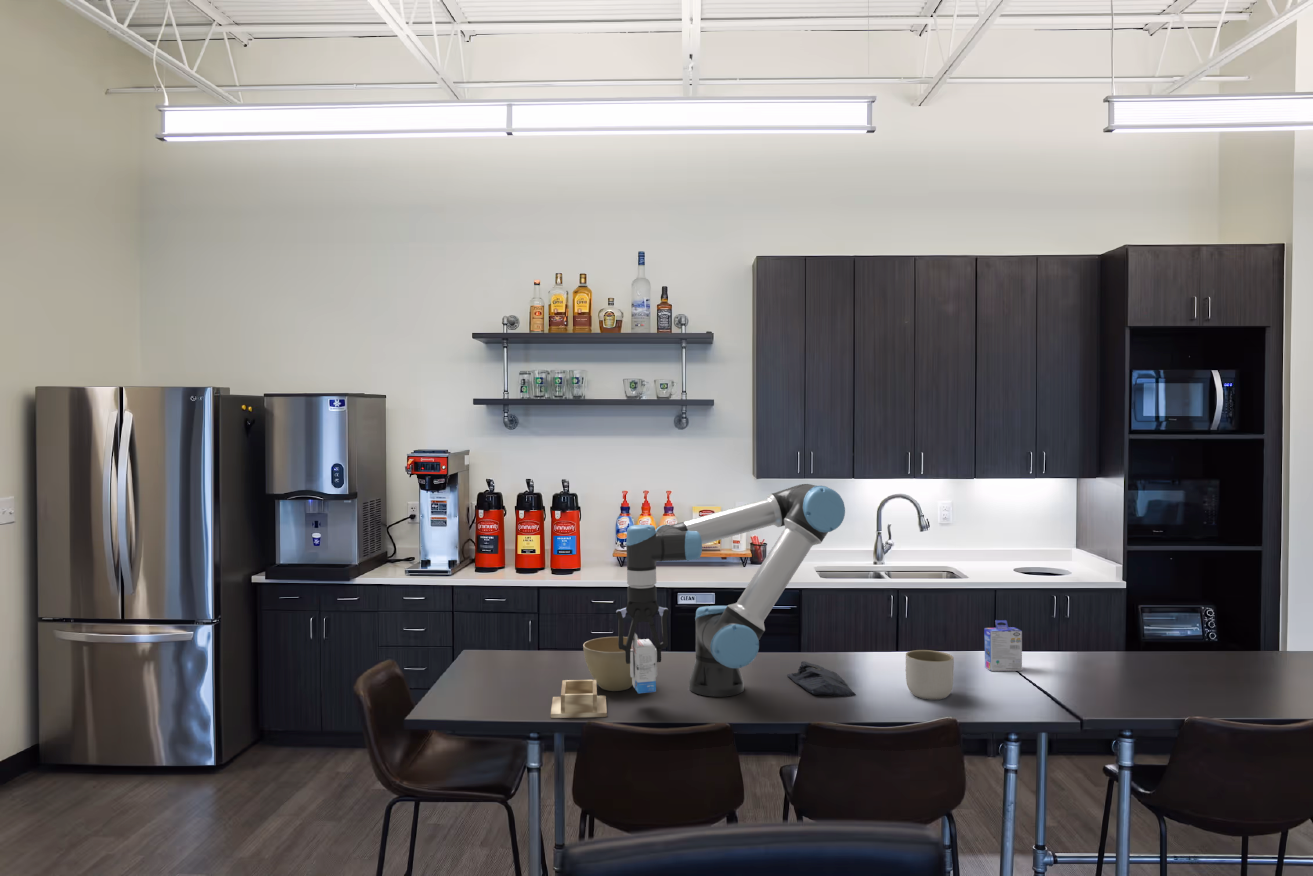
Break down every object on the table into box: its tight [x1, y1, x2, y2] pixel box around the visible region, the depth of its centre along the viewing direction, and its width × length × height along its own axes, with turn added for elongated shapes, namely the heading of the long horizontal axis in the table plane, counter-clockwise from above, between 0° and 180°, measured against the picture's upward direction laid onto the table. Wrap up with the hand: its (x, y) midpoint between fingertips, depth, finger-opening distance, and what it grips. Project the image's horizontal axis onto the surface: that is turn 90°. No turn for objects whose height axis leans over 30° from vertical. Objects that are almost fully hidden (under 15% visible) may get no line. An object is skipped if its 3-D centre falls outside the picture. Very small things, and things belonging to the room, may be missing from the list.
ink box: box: [632, 632, 657, 694], centre depth 219 cm, size 8×5×15 cm, turn 12°
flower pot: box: [582, 636, 641, 692], centre depth 239 cm, size 18×18×12 cm
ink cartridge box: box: [983, 619, 1023, 672], centre depth 258 cm, size 10×6×14 cm, turn 92°
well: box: [550, 679, 608, 719], centre depth 220 cm, size 14×14×6 cm
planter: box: [905, 649, 955, 701], centre depth 232 cm, size 12×12×11 cm
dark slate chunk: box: [787, 660, 857, 697], centre depth 241 cm, size 15×22×5 cm
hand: (643, 675), depth 219 cm, fingers closed on ink box, 5 cm apart
